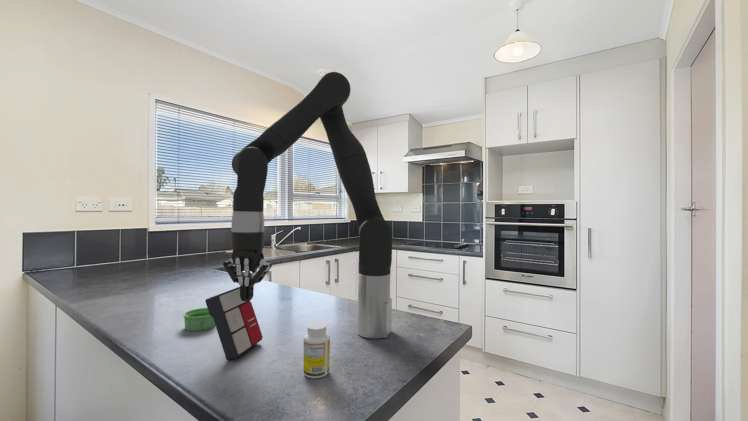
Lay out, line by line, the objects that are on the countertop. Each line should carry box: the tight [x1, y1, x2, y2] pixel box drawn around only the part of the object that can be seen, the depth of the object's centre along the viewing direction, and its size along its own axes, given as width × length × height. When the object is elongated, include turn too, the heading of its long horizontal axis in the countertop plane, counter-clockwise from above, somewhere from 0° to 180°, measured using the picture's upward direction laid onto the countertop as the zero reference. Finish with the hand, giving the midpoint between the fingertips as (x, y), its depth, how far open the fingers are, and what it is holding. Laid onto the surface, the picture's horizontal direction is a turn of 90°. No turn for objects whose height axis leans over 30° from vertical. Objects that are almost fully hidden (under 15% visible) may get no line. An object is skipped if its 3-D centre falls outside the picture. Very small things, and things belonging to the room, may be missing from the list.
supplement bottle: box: [303, 322, 331, 379], centre depth 70 cm, size 6×6×10 cm
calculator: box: [205, 286, 264, 361], centre depth 81 cm, size 11×4×15 cm, turn 168°
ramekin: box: [183, 307, 216, 332], centre depth 96 cm, size 9×9×4 cm
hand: (246, 300), depth 80 cm, fingers closed
